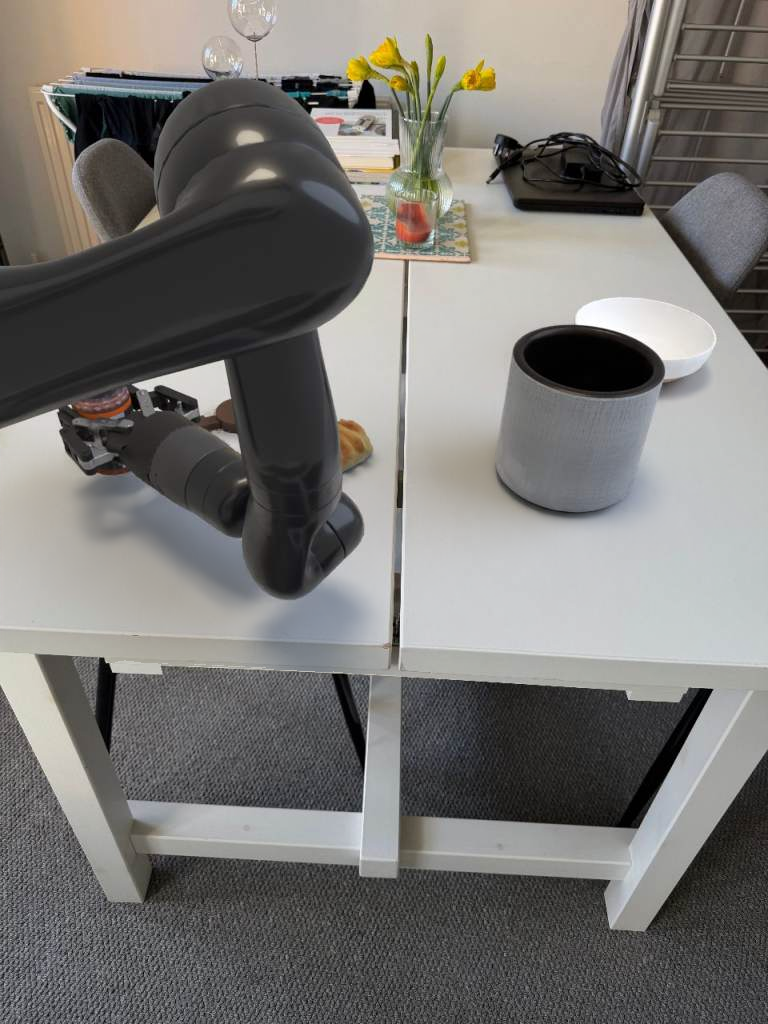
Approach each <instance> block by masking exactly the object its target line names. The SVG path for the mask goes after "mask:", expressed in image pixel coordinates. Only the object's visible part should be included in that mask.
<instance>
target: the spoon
mask: <svg viewBox="0 0 768 1024" xmlns="http://www.w3.org/2000/svg"><path fill="white" fill-rule="evenodd" d="M214 413H215V414H213V415H209V416H205V415H204V414H200V418H201V421H200V422H199V423H196V424H197V425H199V426H201V427H202V428H204V429H206V430H207V431H209V432H211V431H215V430H220V429H221V430H223V431H225V432H229V433H232V434H237V429H236V423H235V417H234V412H233V406H232V400H231V398H229V399H226V400H223V401H222V402H221V403H220V404H218V405H217V407H216V408H215V411H214Z"/></svg>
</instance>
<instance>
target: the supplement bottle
mask: <svg viewBox="0 0 768 1024" xmlns="http://www.w3.org/2000/svg"><path fill="white" fill-rule="evenodd" d="M70 407H71V408H72V409H73V410H75V411H76V412H78V413H79V414H81V415H82V416H83V418H87V419H92V420H95V419H96V418H97V417H104V418H109V419H115V420H116V419H119V418H122V417H125V416H127V415H128V414H130V413H131V412H133V411H135V410H134V409H133V405H132V402H131V398H130V394H129V391H128V389H127V388H126V387H121V388H118V389H115V390H111V391H108V392H105V393H102V394H99V395H97V396H94V397H91V398H88V399H85V400H82V401H79V402H76V403H73V404H71V406H70ZM88 431H89V434H92V435H93V433H92V431H90V430H88ZM106 431H108V430H106ZM93 447H95V446H93ZM95 448H96V447H95ZM97 469H98V472H97V474H99V475H103V476H108V477H109V476H110V477H111V476H113V477H114V476H119V475H124V474H127V473H130V472H131V471H130V470H129V469H128V468H127V467H126V466H125V465H123V464H117V463H114V462H112V461H109V462H106V463H104V464H101V465H98V466H97Z"/></svg>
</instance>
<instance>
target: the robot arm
mask: <svg viewBox="0 0 768 1024" xmlns="http://www.w3.org/2000/svg"><path fill="white" fill-rule="evenodd" d="M153 163H154V165H153V187H154V196H155V201H156V207H157V211H158V215H159V218H158V219H156V220H154V221H152V222H150V223H149V224H147V225H144V226H142V227H140V228H138V229H135V230H132V231H131V232H128V233H126V234H123V235H121V236H118V237H116V238H112V239H110V240H108V241H105V242H102V243H100V244H98V245H94V246H92V247H89V248H86V249H84V250H81V251H79V252H76V253H72V254H70V255H66V256H61V257H59V258H56V259H55V258H54V259H51V260H48V261H43V262H41V261H40V262H37V263H31V264H23V265H0V430H2V429H4V428H7V427H10V426H12V425H13V426H14V425H16V424H19V423H22V422H24V421H27V420H30V419H34V418H36V417H39V416H41V415H42V416H43V415H44V414H47V413H50V412H53V411H56V410H58V411H56V415H57V417H58V421H59V424H60V427H61V428H60V429H59V430H58V432H59V436H60V438H61V440H62V443H63V446H64V451H65V453H66V454H67V455H68V456H69V457H70V459H71V460H72V461H73V462H74V463H75V465H76V466H77V467H78V468H79V469H80V470H81V471H82V472H83V474H84V475H86V476H88V477H92V476H95V475H97V474H98V473H97V472H98V469H97V466H98V465H101V464H104V463H106V462H109V461H112V462H114V463H117V464H123V465H125V466H126V467H127V468H128V469H129V470H130V472H131V473H132V474H133V475H134V476H135V477H136V478H138V479H139V480H141V481H142V482H144V483H145V484H147V485H148V486H149V487H151V488H152V489H154V490H155V491H156V492H158V493H159V495H161V496H163V497H165V498H166V499H167V500H169V501H170V502H172V503H173V504H175V505H176V506H178V507H180V508H182V509H184V510H186V511H189V512H190V513H192V514H194V515H195V516H196V517H198V518H200V519H201V520H202V521H204V522H205V523H207V524H208V525H210V526H211V527H212V528H214V529H215V530H217V532H219V533H221V534H223V535H225V536H226V537H228V538H231V539H241V552H242V557H243V561H244V564H245V567H246V569H247V572H248V573H249V576H250V577H251V579H252V580H253V583H255V584H256V585H257V587H259V589H260V590H262V591H263V592H264V593H266V594H267V595H269V596H271V597H273V598H275V599H277V600H282V601H296V600H299V599H303V598H304V597H306V596H307V595H309V594H310V593H312V592H313V591H314V590H315V589H316V588H317V587H319V585H321V583H322V582H323V581H324V580H325V579H327V577H329V575H330V574H331V573H332V572H333V571H335V569H337V567H339V565H341V564H342V562H344V560H345V559H346V560H347V558H348V557H349V556H350V555H351V554H352V553H353V552H355V550H356V549H357V548H358V547H359V545H360V544H361V542H362V540H363V538H364V535H365V521H364V517H363V514H362V512H361V510H360V508H359V507H358V505H357V504H356V503H355V502H354V500H353V499H352V498H351V497H350V496H349V495H348V494H347V493H346V492H344V491H343V486H344V485H343V472H342V461H341V442H340V433H339V427H338V421H339V420H338V415H337V411H336V408H335V403H334V402H335V401H334V398H333V393H332V389H331V385H330V380H329V375H328V372H327V368H326V363H325V358H324V354H323V350H322V344H321V340H320V335H319V334H320V333H319V329H318V328H320V327H322V326H324V325H325V324H327V323H328V322H330V321H331V320H334V319H335V318H336V317H337V316H339V314H341V313H342V312H343V311H344V310H346V309H347V308H348V307H349V306H350V305H351V304H352V303H353V302H354V301H355V300H356V298H358V296H359V295H360V293H361V292H362V291H363V289H364V287H365V285H366V283H367V281H368V280H369V277H370V276H371V273H372V270H373V265H374V260H375V252H376V251H375V245H376V244H375V237H374V234H373V229H372V228H371V223H370V221H369V218H368V216H367V213H366V211H365V209H364V206H363V204H362V202H361V200H360V198H359V197H358V195H357V192H356V191H355V189H354V188H353V185H352V184H351V181H350V179H349V177H348V175H347V173H346V171H345V170H344V168H343V166H342V164H341V162H340V160H339V158H338V157H337V155H336V153H335V151H334V149H333V147H332V145H331V144H330V142H329V140H328V139H327V137H326V136H325V134H324V132H323V130H322V129H321V128H320V126H319V124H318V123H317V122H316V120H315V119H314V118H313V116H311V114H309V112H308V111H307V110H306V109H305V108H304V107H303V106H302V104H300V103H299V102H298V101H297V100H296V99H295V98H293V97H292V96H291V95H289V94H287V93H286V92H285V91H284V90H283V89H281V88H280V87H277V86H274V85H272V84H270V83H268V82H265V81H262V80H257V79H252V78H247V77H233V78H230V77H229V78H221V79H217V80H213V81H211V82H208V83H206V84H204V85H202V86H201V87H198V88H196V89H194V90H193V91H192V92H191V93H189V94H188V95H187V96H186V97H185V98H184V99H182V100H181V101H180V102H178V104H177V105H176V107H175V108H174V110H173V111H172V112H171V114H169V116H168V118H167V119H166V121H165V124H164V126H163V128H162V130H161V132H160V135H159V137H158V140H157V145H156V150H155V154H154V161H153ZM222 361H223V363H224V367H225V373H226V379H227V384H228V388H229V389H228V390H229V394H230V395H229V396H230V399H231V400H232V406H233V412H234V417H235V423H236V429H237V433H236V435H237V440H238V446H239V450H240V452H238V451H237V450H236V449H234V448H233V447H231V446H230V444H228V443H227V442H226V441H225V440H223V439H222V438H220V437H219V436H217V435H215V434H214V433H212V432H211V431H210V432H209V431H207V430H206V429H204V428H202V427H201V426H199V425H197V424H196V423H199V422H200V421H201V418H200V416H201V412H200V407H199V402H198V401H199V400H198V399H197V398H195V397H193V396H190V395H189V394H186V393H183V392H181V391H178V390H175V389H173V388H170V387H168V386H166V385H163V384H157V385H155V386H154V387H153V390H152V391H148V389H144V388H141V389H140V388H139V387H137V386H135V384H138V383H141V382H145V381H150V380H153V379H156V378H160V377H164V376H168V375H172V374H176V373H179V372H184V371H186V370H191V369H194V368H198V367H202V366H203V367H204V366H206V365H210V364H214V363H219V362H222ZM121 387H126V388H127V389H128V391H129V394H130V398H131V402H132V405H133V409H134V411H133V412H131V413H130V414H128V415H127V416H125V417H122V418H119V419H116V420H115V419H109V418H104V417H97V418H96V419H95V420H92V419H87V418H83V416H82V415H81V414H79V413H78V412H76V411H75V410H73V409H72V407H71V406H70V405H71V404H73V403H76V402H79V401H82V400H85V399H88V398H91V397H94V396H97V395H99V394H102V393H105V392H108V391H111V390H115V389H118V388H121ZM155 409H158V410H155ZM88 430H90V431H92V433H93V435H92V434H89V431H88ZM106 430H108V431H106ZM93 446H95V447H96V448H95V447H93Z"/></svg>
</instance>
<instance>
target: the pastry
mask: <svg viewBox="0 0 768 1024" xmlns="http://www.w3.org/2000/svg"><path fill="white" fill-rule="evenodd" d="M337 421H338V427H339V433H340V442H341V461H342V473H344V472H346V471H348V470H351V469H352V468H354V467H357V465H358V464H362V463H363V462H365V461H366V460H367V459H368V458H369V456H370V455H371V454H372V453H373V451H374V446H373V444H372V443H371V439H370V437H369V436H368V434H367V432H366V430H365V428H364V427H363V426H362V425H360V424H359V423H357V422H356V421H355V420H352V419H344V418H340V419H339V420H337Z"/></svg>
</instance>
